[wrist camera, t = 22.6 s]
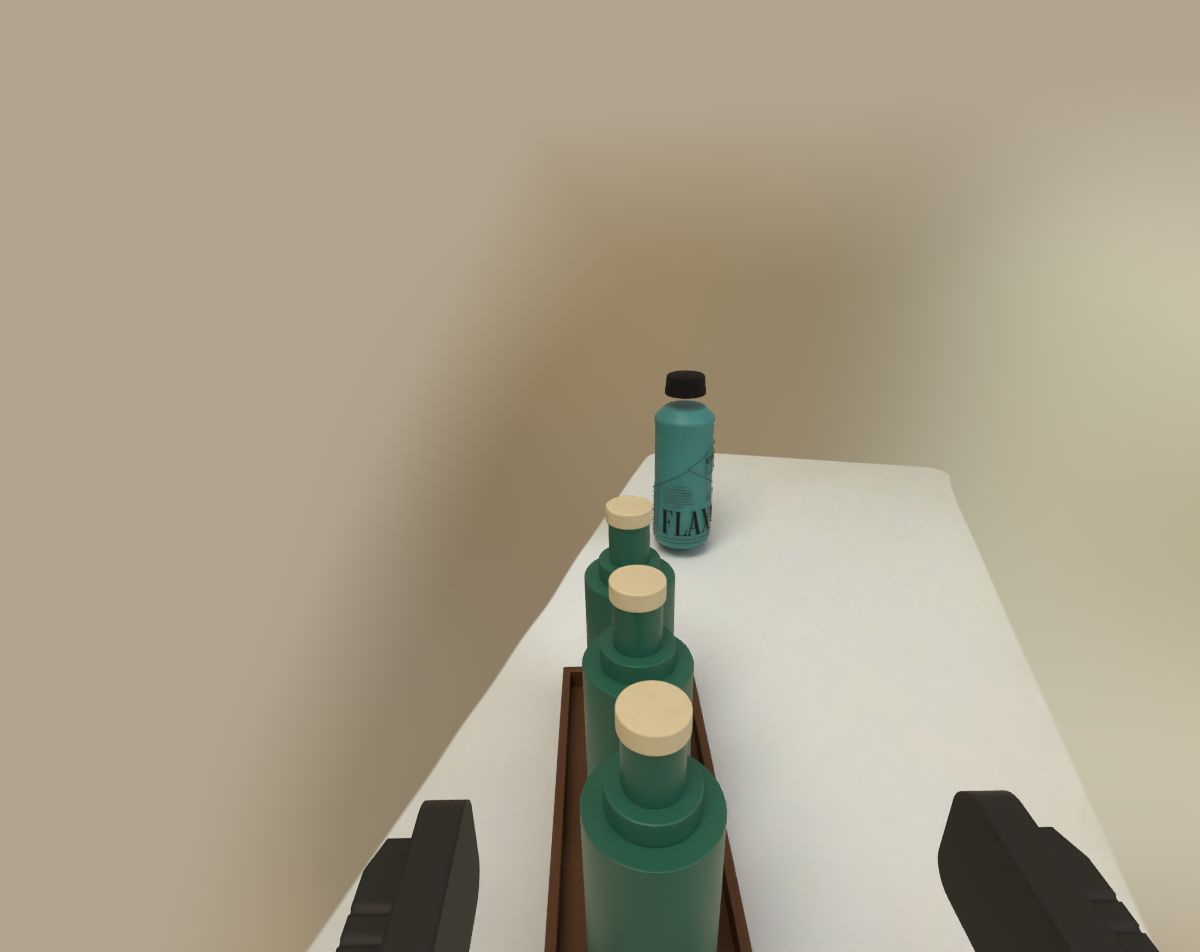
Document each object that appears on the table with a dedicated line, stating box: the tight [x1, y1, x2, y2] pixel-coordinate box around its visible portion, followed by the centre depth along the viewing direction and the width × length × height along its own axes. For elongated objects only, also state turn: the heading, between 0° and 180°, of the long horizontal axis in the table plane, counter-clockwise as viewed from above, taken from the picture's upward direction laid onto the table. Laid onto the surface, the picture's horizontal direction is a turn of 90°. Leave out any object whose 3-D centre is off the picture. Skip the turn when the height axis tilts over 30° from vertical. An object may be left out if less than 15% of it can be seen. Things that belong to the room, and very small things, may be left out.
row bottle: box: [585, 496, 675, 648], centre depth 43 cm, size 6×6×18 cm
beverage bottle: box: [652, 371, 715, 549], centre depth 67 cm, size 6×7×20 cm
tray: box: [545, 667, 752, 952], centre depth 38 cm, size 27×10×2 cm, turn 0°
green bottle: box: [580, 680, 727, 952], centre depth 27 cm, size 6×6×18 cm
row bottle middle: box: [582, 565, 694, 778], centre depth 35 cm, size 6×6×18 cm
